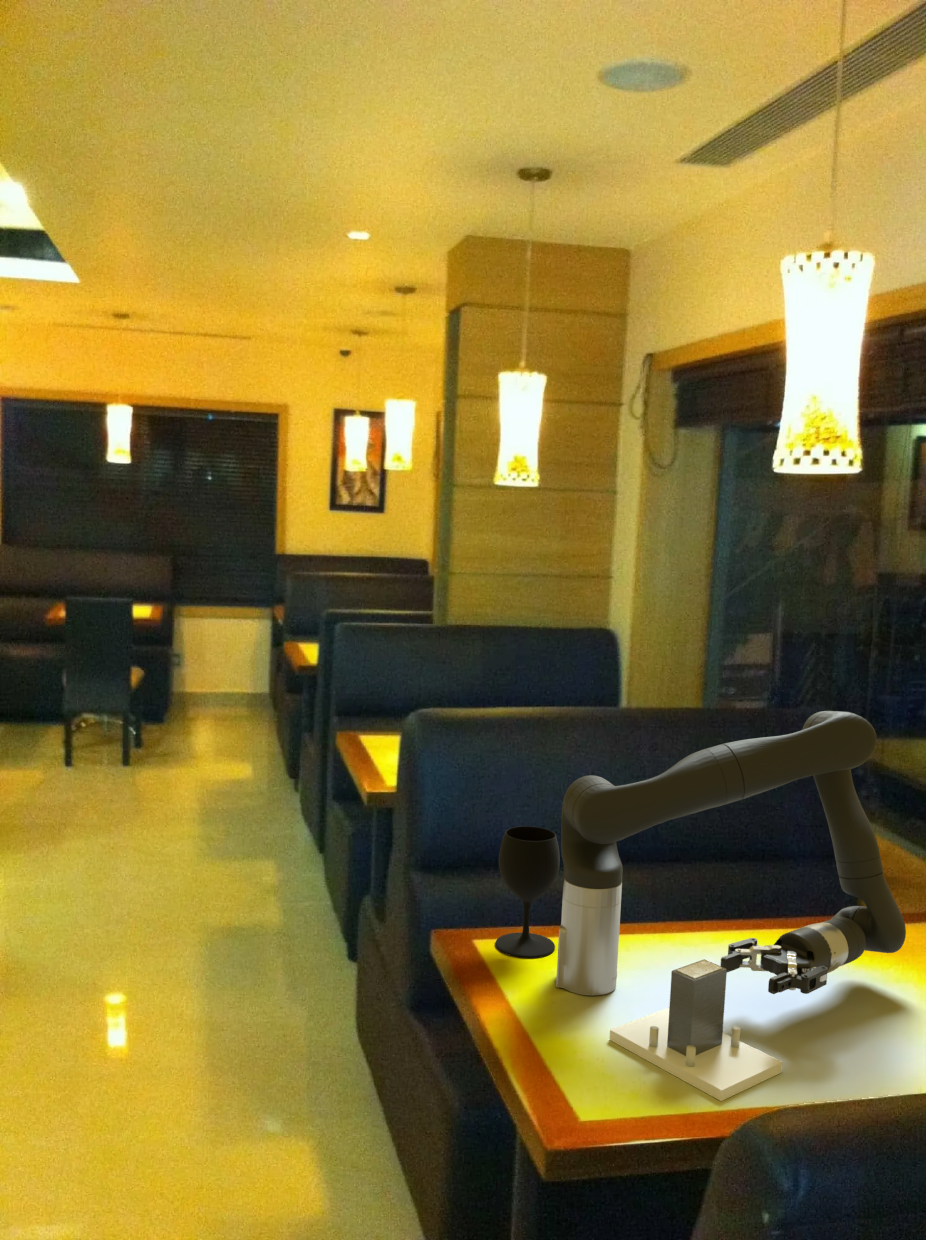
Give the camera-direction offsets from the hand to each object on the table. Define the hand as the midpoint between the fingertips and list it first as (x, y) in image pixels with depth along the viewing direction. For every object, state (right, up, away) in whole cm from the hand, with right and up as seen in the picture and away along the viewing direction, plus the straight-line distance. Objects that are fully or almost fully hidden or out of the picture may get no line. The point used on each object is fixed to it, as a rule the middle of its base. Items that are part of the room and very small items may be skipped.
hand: (746, 976), depth 163 cm
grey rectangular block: (-9, -8, -6) cm, 13 cm away
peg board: (-9, -9, -6) cm, 14 cm away
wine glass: (-30, -5, +31) cm, 43 cm away
